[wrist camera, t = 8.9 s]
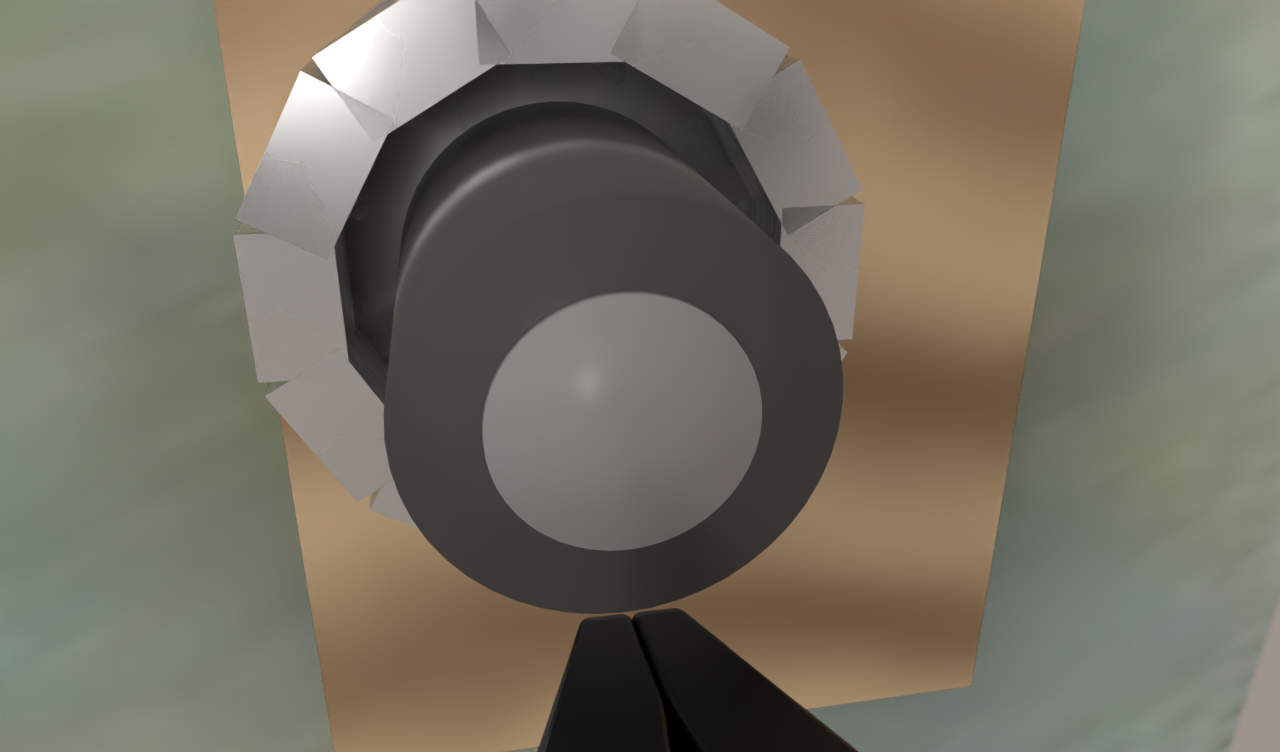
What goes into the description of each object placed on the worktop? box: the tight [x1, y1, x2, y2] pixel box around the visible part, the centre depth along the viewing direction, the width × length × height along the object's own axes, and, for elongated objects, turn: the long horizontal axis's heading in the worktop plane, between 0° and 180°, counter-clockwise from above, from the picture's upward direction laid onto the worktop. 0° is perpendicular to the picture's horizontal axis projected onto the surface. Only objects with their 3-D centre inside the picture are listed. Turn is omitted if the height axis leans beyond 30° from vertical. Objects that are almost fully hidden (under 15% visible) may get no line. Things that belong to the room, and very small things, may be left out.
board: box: [213, 0, 1085, 752], centre depth 20 cm, size 18×15×1 cm
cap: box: [384, 101, 843, 614], centre depth 13 cm, size 5×5×6 cm
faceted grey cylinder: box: [233, 0, 864, 528], centre depth 16 cm, size 9×9×4 cm
